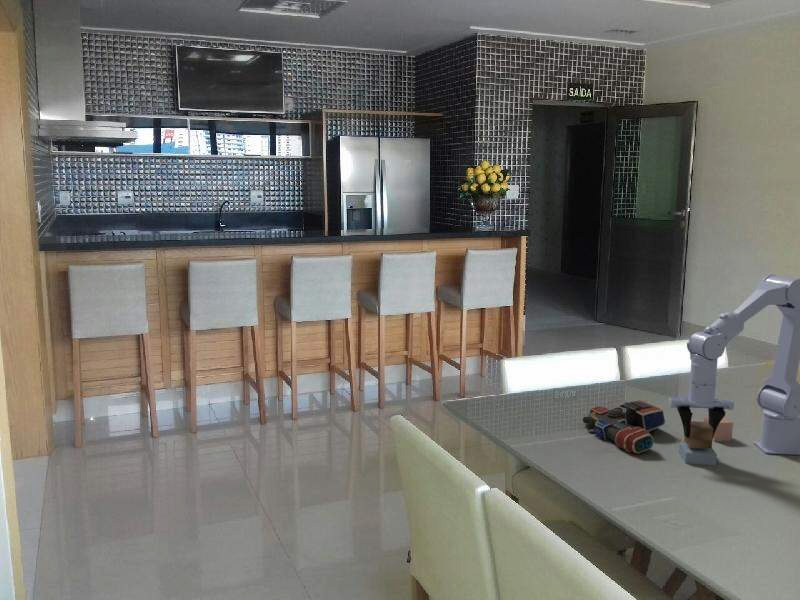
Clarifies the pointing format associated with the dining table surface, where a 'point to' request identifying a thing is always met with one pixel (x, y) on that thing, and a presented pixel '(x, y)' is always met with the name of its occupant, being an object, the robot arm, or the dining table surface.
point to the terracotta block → (722, 430)
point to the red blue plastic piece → (627, 424)
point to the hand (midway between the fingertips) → (698, 436)
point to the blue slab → (697, 455)
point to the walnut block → (700, 435)
